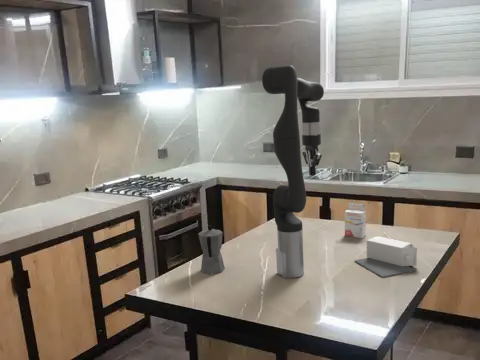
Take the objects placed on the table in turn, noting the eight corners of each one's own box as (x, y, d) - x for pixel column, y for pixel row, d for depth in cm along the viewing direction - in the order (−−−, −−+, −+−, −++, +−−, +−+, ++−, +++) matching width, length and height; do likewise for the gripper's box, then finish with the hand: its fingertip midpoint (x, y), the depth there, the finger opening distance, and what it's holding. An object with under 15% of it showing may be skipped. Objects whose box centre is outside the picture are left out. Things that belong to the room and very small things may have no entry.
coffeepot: (202, 264, 189) (199, 221, 186) (225, 263, 189) (222, 220, 186) (198, 279, 174) (195, 232, 171) (224, 278, 174) (220, 231, 171)
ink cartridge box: (344, 236, 215) (343, 204, 212) (348, 233, 219) (347, 202, 216) (362, 238, 210) (362, 206, 207) (366, 235, 214) (366, 203, 212)
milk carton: (376, 235, 188) (421, 245, 175) (376, 252, 190) (421, 263, 176) (366, 240, 184) (411, 250, 170) (366, 257, 185) (411, 268, 171)
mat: (382, 277, 166) (382, 276, 166) (354, 261, 183) (354, 260, 183) (415, 271, 170) (415, 269, 170) (385, 255, 187) (385, 254, 187)
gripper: (295, 133, 195) (297, 174, 199) (310, 135, 183) (311, 178, 186) (312, 131, 198) (313, 172, 201) (327, 133, 185) (328, 176, 188)
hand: (312, 175), depth 194 cm, fingers closed
